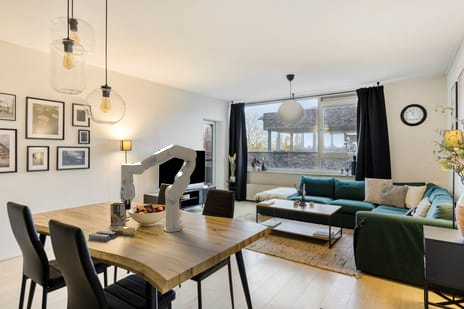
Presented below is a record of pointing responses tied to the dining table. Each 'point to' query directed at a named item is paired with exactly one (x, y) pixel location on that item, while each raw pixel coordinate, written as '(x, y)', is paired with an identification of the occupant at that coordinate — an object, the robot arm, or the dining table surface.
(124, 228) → the brass axle
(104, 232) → the steel v block
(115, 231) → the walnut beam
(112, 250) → the dining table surface
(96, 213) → the dining table surface
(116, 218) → the coffee box
